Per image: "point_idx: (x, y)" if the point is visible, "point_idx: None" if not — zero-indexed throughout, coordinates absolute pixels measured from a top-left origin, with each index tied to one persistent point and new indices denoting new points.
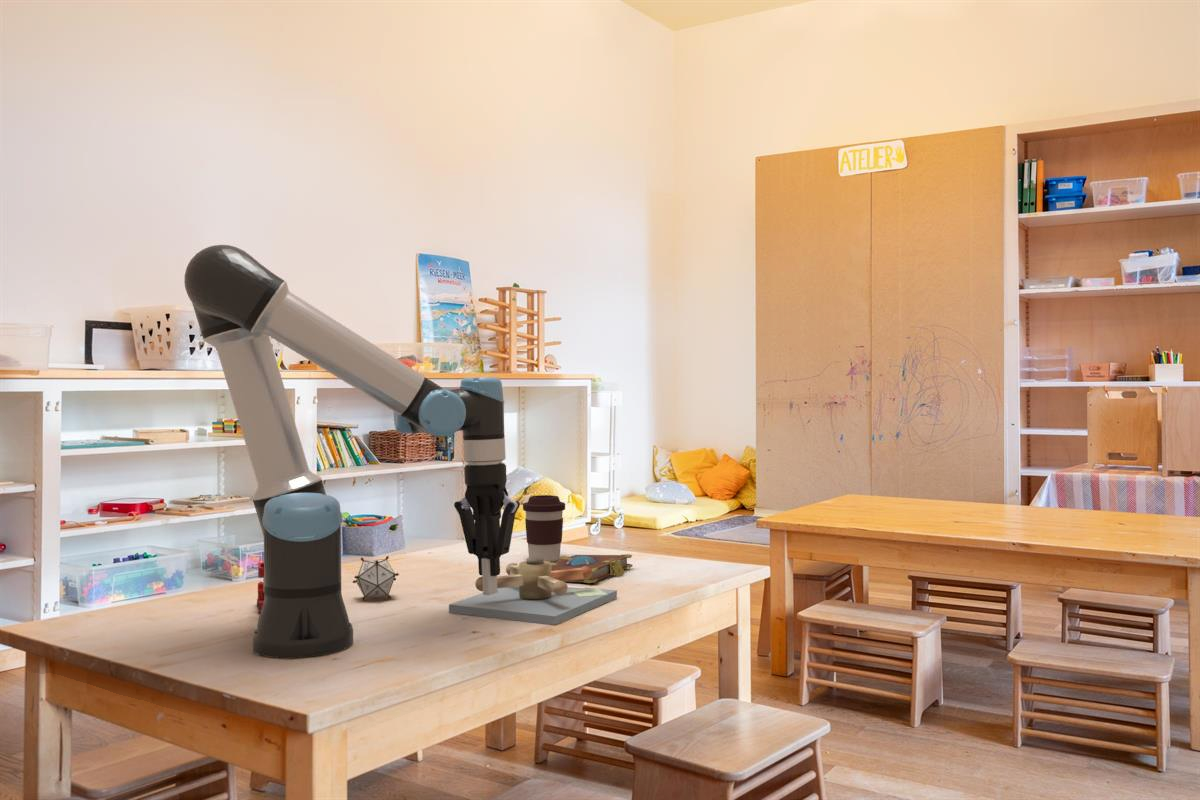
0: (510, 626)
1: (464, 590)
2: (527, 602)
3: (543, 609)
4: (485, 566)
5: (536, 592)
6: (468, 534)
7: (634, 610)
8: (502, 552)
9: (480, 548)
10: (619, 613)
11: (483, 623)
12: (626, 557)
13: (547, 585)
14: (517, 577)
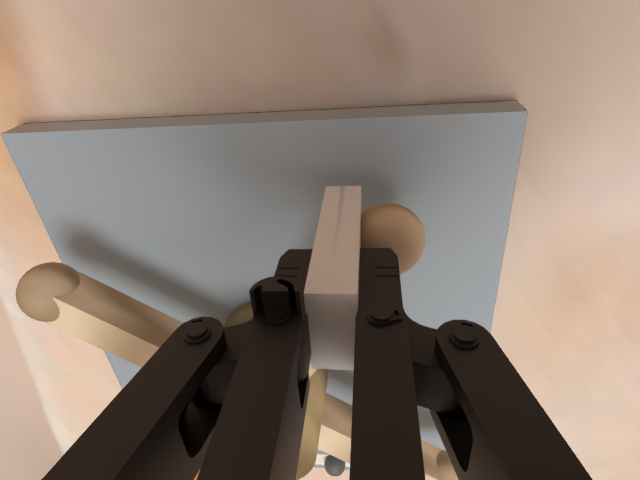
0: (124, 19)
1: (632, 405)
2: (244, 271)
3: (119, 206)
4: (329, 262)
5: (231, 323)
6: (520, 468)
7: (31, 356)
8: (176, 336)
9: (365, 352)
10: (28, 321)
11: (252, 3)
12: None
13: (129, 313)
14: None
